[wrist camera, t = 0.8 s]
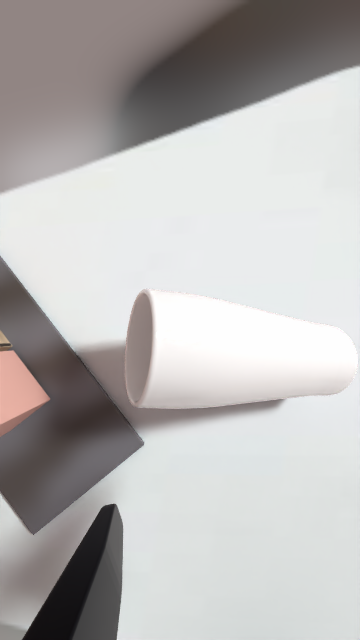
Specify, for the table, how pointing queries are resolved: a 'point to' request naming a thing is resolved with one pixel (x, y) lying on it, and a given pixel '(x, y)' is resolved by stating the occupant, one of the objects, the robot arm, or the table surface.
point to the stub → (17, 392)
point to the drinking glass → (228, 354)
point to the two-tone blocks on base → (55, 417)
